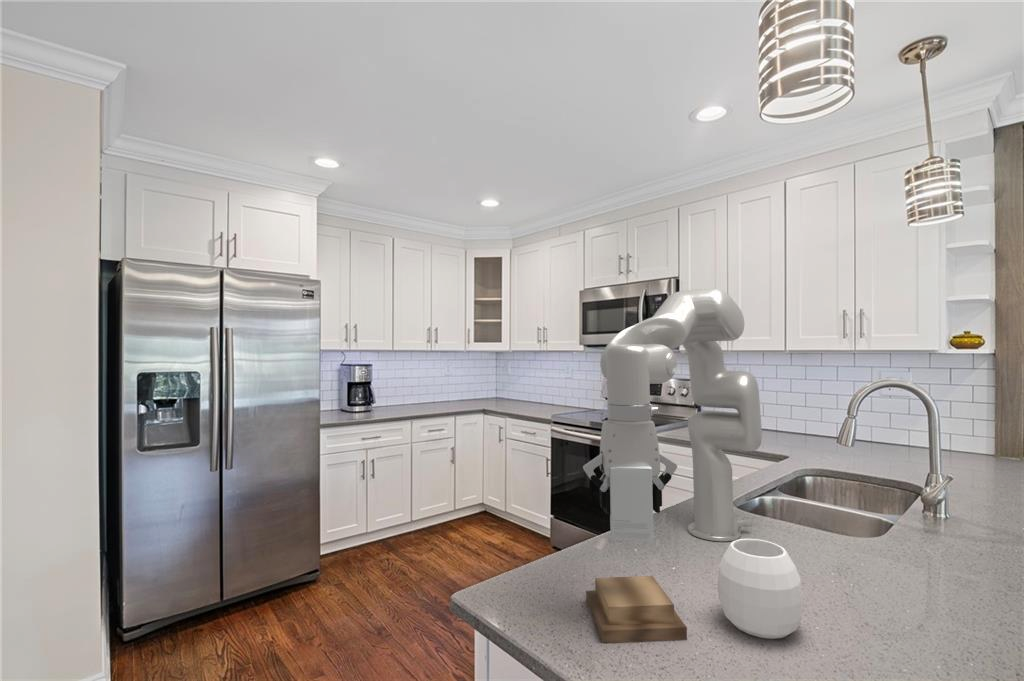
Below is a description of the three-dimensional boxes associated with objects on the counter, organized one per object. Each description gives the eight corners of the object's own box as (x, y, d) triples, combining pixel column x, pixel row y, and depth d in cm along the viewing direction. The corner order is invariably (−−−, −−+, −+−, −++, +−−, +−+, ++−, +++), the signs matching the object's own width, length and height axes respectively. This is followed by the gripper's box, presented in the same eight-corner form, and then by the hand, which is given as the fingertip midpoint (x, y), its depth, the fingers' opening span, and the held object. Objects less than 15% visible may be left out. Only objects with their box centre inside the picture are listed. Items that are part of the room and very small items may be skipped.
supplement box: (654, 543, 86) (652, 468, 86) (610, 540, 87) (608, 467, 88) (651, 528, 93) (649, 459, 93) (610, 526, 95) (609, 458, 95)
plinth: (658, 598, 97) (657, 572, 97) (687, 639, 83) (686, 608, 83) (586, 601, 96) (585, 574, 96) (602, 643, 82) (602, 612, 82)
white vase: (707, 607, 93) (705, 533, 94) (779, 607, 93) (777, 533, 93) (737, 648, 80) (734, 563, 81) (821, 648, 80) (818, 563, 80)
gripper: (668, 410, 95) (671, 503, 94) (577, 412, 94) (579, 506, 94) (684, 415, 87) (686, 516, 87) (584, 417, 87) (586, 519, 86)
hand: (630, 510), depth 90 cm, fingers closed on supplement box, 8 cm apart
